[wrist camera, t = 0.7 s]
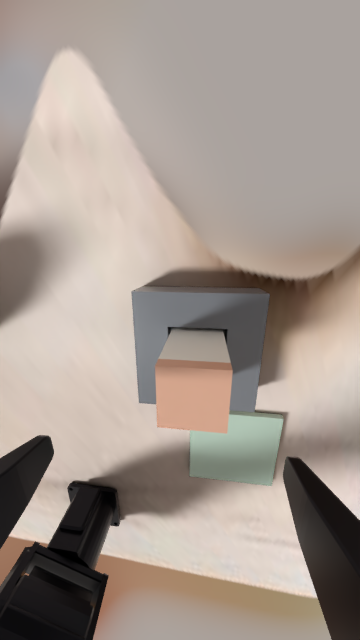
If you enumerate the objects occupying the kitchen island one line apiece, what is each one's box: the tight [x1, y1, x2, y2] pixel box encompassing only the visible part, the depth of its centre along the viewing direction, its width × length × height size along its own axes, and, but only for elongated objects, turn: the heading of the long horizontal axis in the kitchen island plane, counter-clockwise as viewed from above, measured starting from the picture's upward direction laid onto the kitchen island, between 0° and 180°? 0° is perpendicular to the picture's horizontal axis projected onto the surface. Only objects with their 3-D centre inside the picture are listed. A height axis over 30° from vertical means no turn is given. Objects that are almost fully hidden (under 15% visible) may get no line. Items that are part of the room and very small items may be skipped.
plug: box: [155, 327, 233, 434], centre depth 15 cm, size 4×4×8 cm
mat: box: [189, 410, 283, 486], centre depth 22 cm, size 9×9×1 cm
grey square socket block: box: [132, 286, 270, 412], centre depth 18 cm, size 10×10×3 cm
